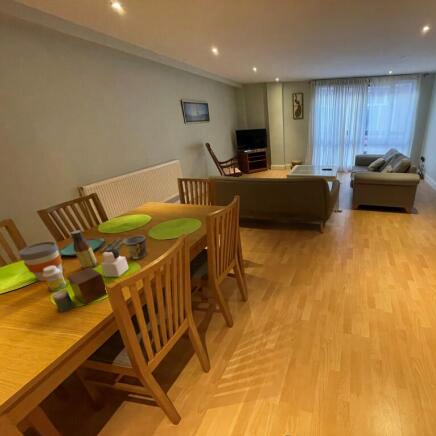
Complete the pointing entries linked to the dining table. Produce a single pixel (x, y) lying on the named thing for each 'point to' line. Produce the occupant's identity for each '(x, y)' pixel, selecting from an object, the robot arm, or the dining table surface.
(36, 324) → the dining table surface
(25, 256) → the reusable coffee cup
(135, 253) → the ceramic cup
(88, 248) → the sauce bottle
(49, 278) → the supplement bottle
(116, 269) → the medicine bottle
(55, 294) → the cylinder
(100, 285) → the box
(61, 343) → the dining table surface
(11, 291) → the dining table surface
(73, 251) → the cutlery set
